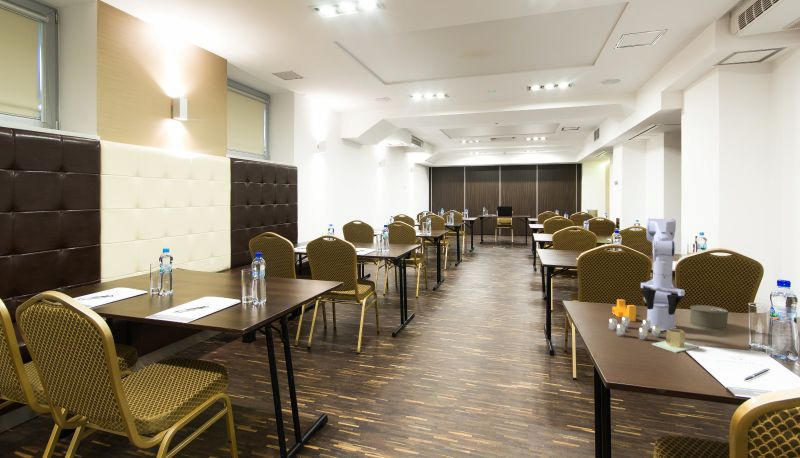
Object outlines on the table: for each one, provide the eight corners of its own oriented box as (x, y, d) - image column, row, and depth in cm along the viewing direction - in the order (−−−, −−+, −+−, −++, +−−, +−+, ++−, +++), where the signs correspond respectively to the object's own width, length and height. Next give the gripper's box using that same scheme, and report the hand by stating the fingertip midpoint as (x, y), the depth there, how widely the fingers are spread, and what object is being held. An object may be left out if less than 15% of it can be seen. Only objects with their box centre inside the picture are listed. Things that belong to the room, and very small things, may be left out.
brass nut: (673, 342, 139) (673, 327, 139) (686, 346, 135) (687, 331, 135) (663, 343, 137) (664, 329, 137) (676, 348, 133) (677, 333, 133)
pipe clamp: (612, 313, 177) (612, 299, 177) (622, 314, 177) (623, 299, 176) (624, 321, 165) (624, 306, 165) (635, 322, 165) (636, 306, 164)
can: (689, 319, 168) (690, 303, 168) (726, 324, 162) (727, 307, 161) (689, 326, 159) (690, 309, 158) (729, 332, 152) (730, 314, 151)
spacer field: (630, 324, 160) (631, 314, 160) (668, 336, 147) (668, 325, 146) (600, 330, 153) (601, 319, 153) (637, 342, 140) (637, 330, 140)
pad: (674, 340, 142) (674, 339, 142) (698, 347, 135) (698, 346, 135) (651, 344, 138) (651, 343, 138) (675, 352, 130) (675, 351, 130)
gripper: (635, 271, 149) (634, 307, 150) (676, 278, 136) (674, 318, 136) (648, 270, 152) (646, 306, 153) (689, 276, 138) (687, 315, 139)
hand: (660, 311), depth 145 cm, fingers open, 7 cm apart
